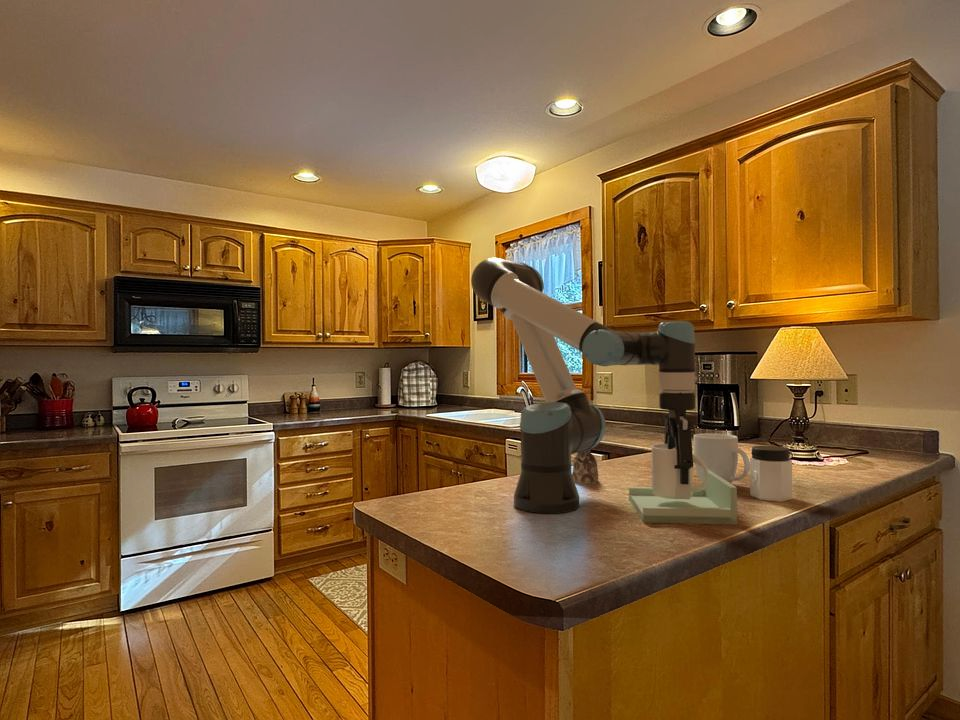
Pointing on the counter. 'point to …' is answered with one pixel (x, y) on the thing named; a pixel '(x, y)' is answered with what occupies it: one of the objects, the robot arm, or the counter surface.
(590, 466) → the figurine
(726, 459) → the mug
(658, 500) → the tray
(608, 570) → the counter surface
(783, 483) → the jar
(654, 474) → the mug
